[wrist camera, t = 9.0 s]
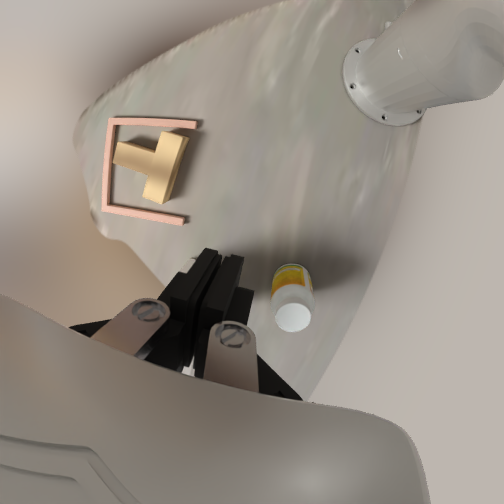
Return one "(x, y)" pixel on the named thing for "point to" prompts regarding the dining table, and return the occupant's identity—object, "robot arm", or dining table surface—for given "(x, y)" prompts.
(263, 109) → the dining table surface
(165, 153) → the t block
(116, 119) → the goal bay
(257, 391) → the robot arm
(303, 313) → the supplement bottle
